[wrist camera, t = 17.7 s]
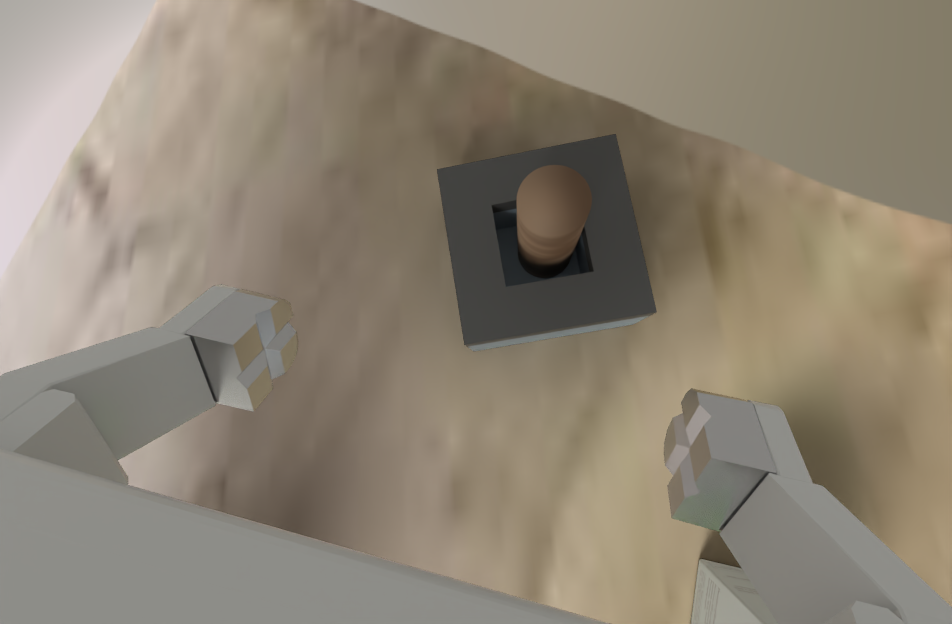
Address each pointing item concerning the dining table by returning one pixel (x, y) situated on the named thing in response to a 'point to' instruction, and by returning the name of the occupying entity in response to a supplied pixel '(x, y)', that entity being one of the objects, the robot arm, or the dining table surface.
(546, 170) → the walnut peg
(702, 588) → the supplement box
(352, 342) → the dining table surface
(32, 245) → the dining table surface
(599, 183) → the socket block
